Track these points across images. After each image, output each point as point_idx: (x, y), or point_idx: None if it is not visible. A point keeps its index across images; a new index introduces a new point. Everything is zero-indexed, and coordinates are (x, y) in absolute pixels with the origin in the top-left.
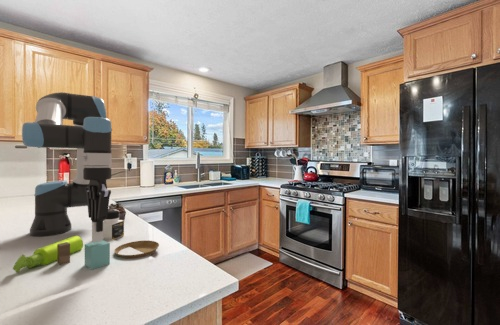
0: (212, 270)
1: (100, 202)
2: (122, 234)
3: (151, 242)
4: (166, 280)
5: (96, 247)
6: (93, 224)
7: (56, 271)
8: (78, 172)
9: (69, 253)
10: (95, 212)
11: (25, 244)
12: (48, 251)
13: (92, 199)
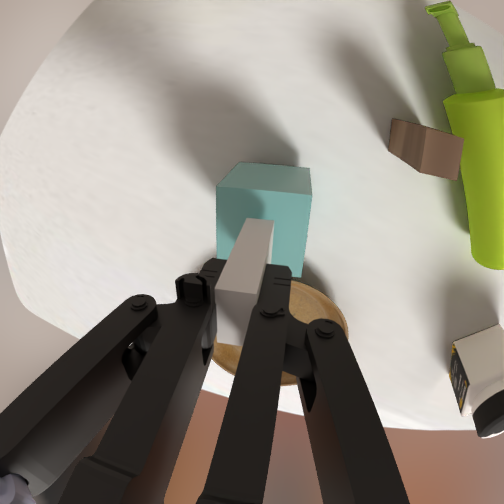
0: (58, 321)
1: (14, 401)
2: (450, 376)
3: (283, 380)
4: (61, 253)
5: (218, 208)
6: (229, 277)
7: (371, 96)
8: None
9: (404, 159)
10: (163, 350)
11: None
12: (470, 111)
13: (202, 493)
